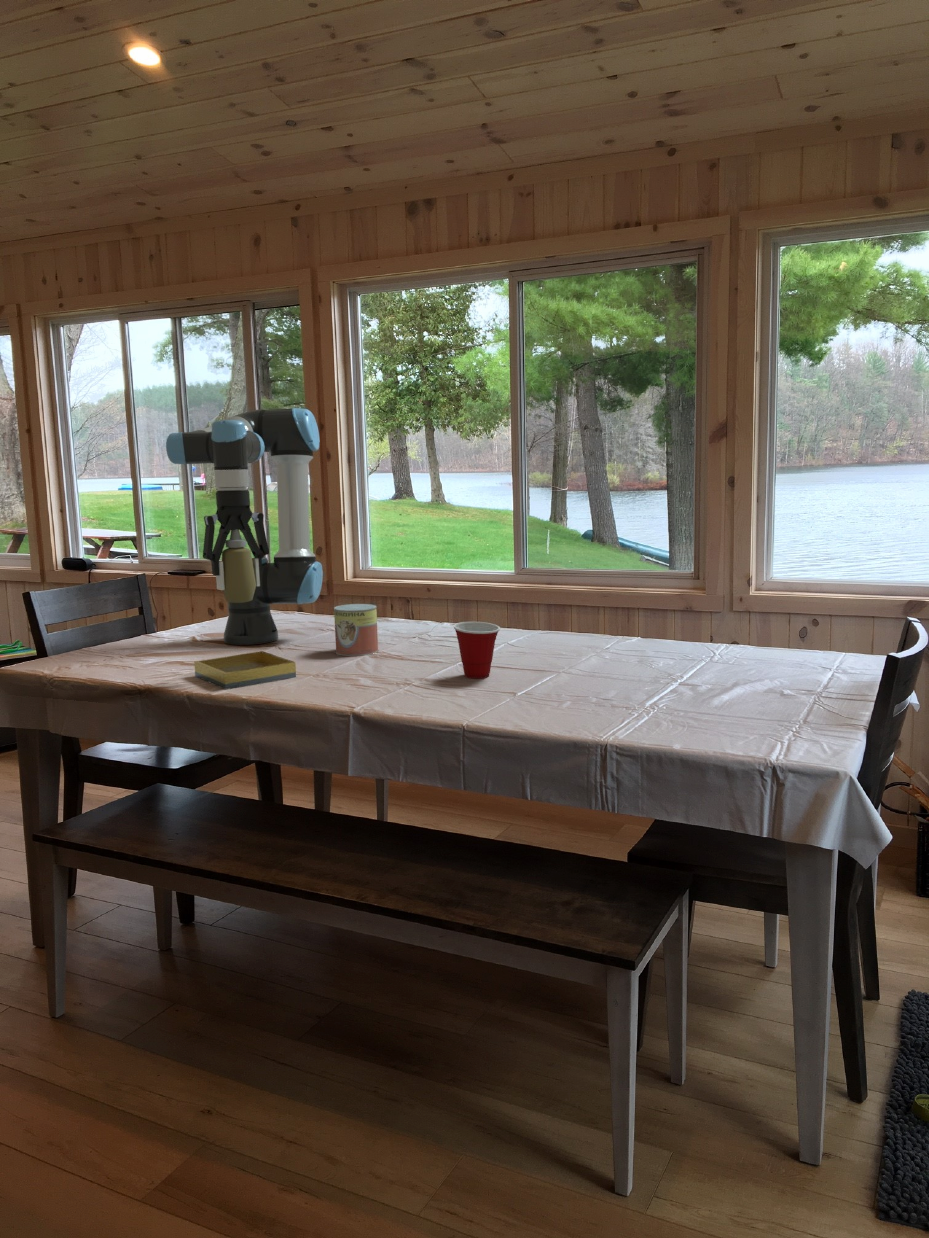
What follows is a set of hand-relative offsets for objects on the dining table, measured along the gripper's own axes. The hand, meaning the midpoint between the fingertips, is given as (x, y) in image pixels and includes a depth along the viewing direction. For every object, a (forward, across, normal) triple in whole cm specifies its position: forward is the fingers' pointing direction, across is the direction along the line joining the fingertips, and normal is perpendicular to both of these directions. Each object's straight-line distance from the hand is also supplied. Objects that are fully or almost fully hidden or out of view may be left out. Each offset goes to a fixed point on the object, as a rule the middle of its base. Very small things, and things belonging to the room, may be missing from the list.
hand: (238, 587), depth 217 cm
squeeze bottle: (+3, 0, 0) cm, 3 cm away
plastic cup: (+22, -41, +37) cm, 59 cm away
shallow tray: (+21, 0, 0) cm, 21 cm away
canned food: (+22, -35, -7) cm, 42 cm away
